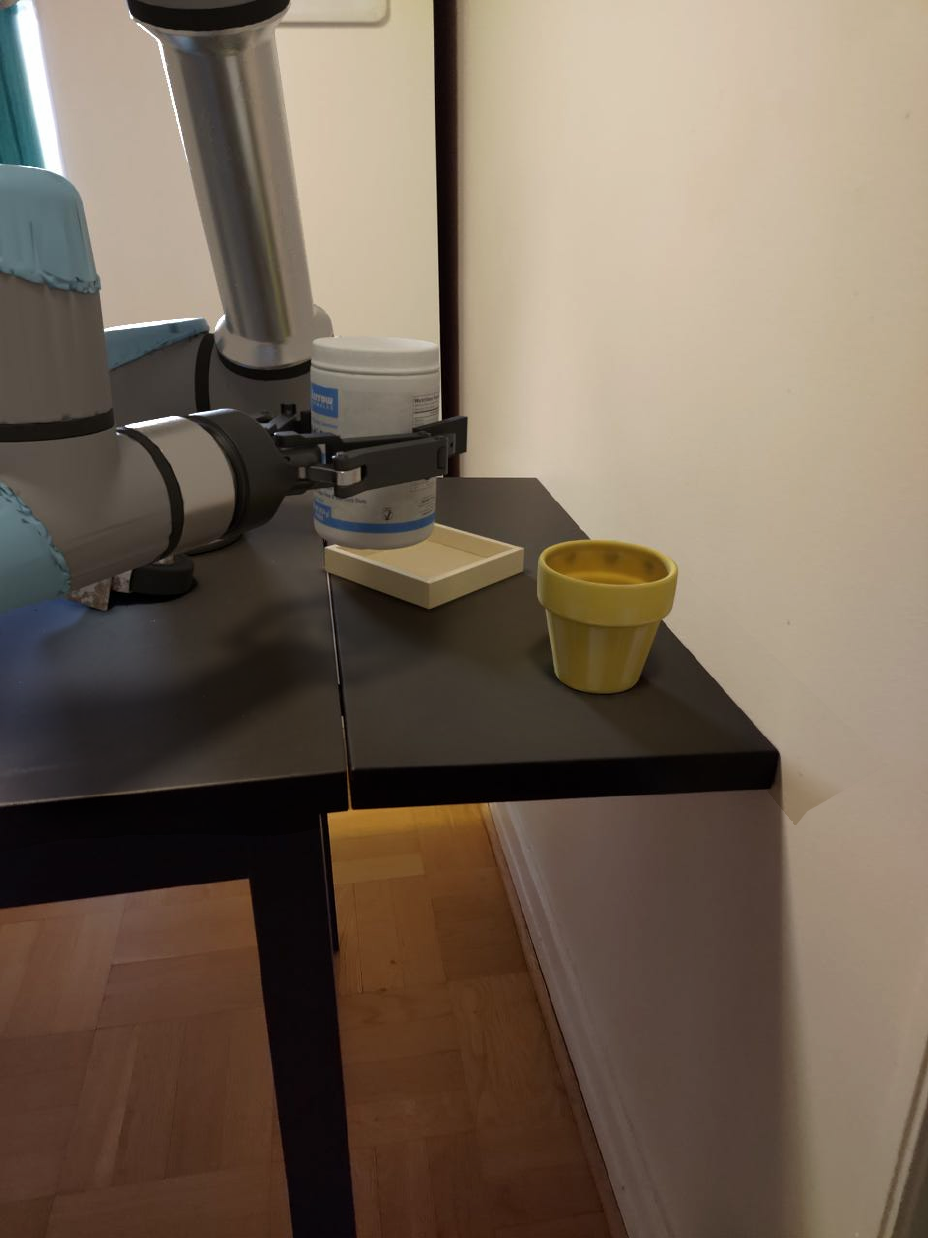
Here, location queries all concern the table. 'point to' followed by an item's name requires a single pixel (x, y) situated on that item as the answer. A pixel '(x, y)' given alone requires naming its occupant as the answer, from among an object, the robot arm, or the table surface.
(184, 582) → the caster wheel
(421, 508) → the supplement tub
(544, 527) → the table surface
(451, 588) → the shallow tray
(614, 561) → the flower pot
